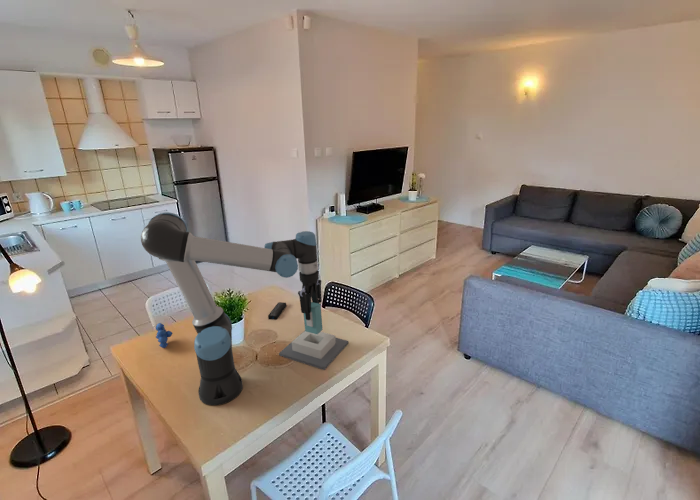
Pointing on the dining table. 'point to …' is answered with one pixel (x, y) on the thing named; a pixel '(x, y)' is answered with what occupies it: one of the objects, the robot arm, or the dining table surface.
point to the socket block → (314, 349)
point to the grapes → (162, 335)
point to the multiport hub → (277, 311)
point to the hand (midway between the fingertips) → (313, 322)
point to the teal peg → (314, 319)
